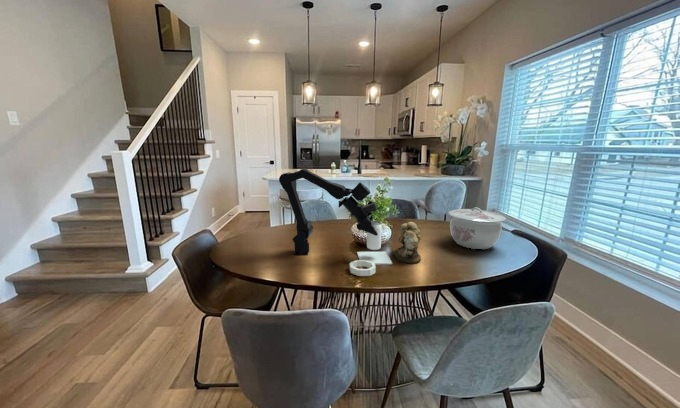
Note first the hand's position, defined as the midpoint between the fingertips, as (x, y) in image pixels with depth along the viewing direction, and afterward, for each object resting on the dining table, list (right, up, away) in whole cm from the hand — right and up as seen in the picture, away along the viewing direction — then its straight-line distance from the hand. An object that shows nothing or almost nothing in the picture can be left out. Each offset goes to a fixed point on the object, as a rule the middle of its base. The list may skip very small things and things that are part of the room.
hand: (377, 233), depth 131 cm
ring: (-8, -15, -10) cm, 20 cm away
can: (-2, -7, +2) cm, 7 cm away
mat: (-1, -12, +3) cm, 12 cm away
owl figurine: (+15, -12, +6) cm, 20 cm away
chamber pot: (+54, -9, +22) cm, 59 cm away
